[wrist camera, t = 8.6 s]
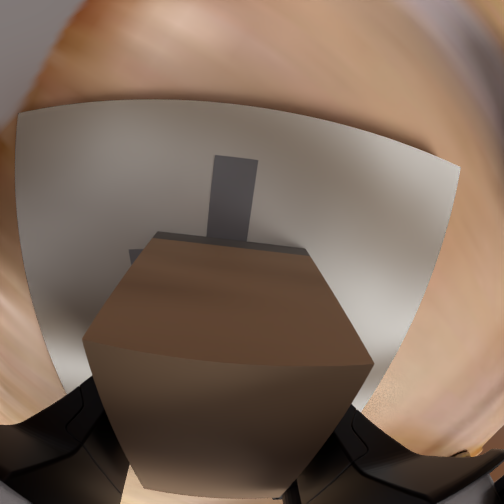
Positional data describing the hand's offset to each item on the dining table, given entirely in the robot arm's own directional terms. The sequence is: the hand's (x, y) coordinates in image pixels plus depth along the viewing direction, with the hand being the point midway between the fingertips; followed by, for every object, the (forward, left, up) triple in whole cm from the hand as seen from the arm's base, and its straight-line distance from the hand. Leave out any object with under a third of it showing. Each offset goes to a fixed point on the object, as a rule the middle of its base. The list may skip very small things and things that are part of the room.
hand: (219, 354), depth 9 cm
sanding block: (+1, 0, -1) cm, 1 cm away
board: (-1, 0, -2) cm, 2 cm away
